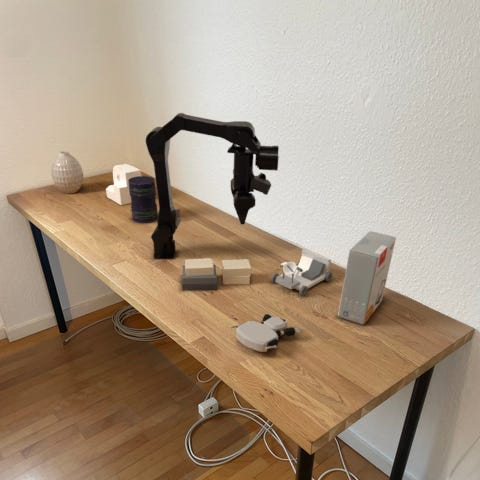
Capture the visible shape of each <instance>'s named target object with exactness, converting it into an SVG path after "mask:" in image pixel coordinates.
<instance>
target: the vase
mask: <svg viewBox="0 0 480 480" xmlns="http://www.w3.org/2000/svg"><path fill="white" fill-rule="evenodd" d="M50 173H51V178H52V180H53V183H54V185H55V186H56V187H57V188H58V189H59V190H60V191H61V192H62V193H64V194H75V193H78V192H79V190H80V189H81V187H82V185H83V183H84V171H83V168H82V165H81V163H80V162H79V160H78V159H76V157H75V156H74V155H72V154H70V152H69V151H68V150H61V151H59V152H58V154H57V155H56V157H55V158H53V161H52V165H51V171H50Z"/></svg>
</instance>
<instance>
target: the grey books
mask: <svg viewBox="0 0 480 480" xmlns="http://www.w3.org/2000/svg"><path fill="white" fill-rule="evenodd" d="M213 267H214V275H207V276H189V277H186V271H185V264H183V265H182V278H181V291H217V283H218V279H217V278H218V276H217V267H216V264H213Z"/></svg>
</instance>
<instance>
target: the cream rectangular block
mask: <svg viewBox="0 0 480 480" xmlns="http://www.w3.org/2000/svg"><path fill="white" fill-rule="evenodd" d="M184 265H185V271H186V277H189V276H207V275H214V267H213V265H214V262H213V258H212V257H205V258H187V259H184Z"/></svg>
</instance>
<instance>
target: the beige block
mask: <svg viewBox="0 0 480 480" xmlns="http://www.w3.org/2000/svg"><path fill="white" fill-rule="evenodd" d="M221 268H222V285H250V282H251V276H252V266H251V262H250V259H249V258H247V259H246V258H244V259H241V258H240V259H222V267H221Z"/></svg>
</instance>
